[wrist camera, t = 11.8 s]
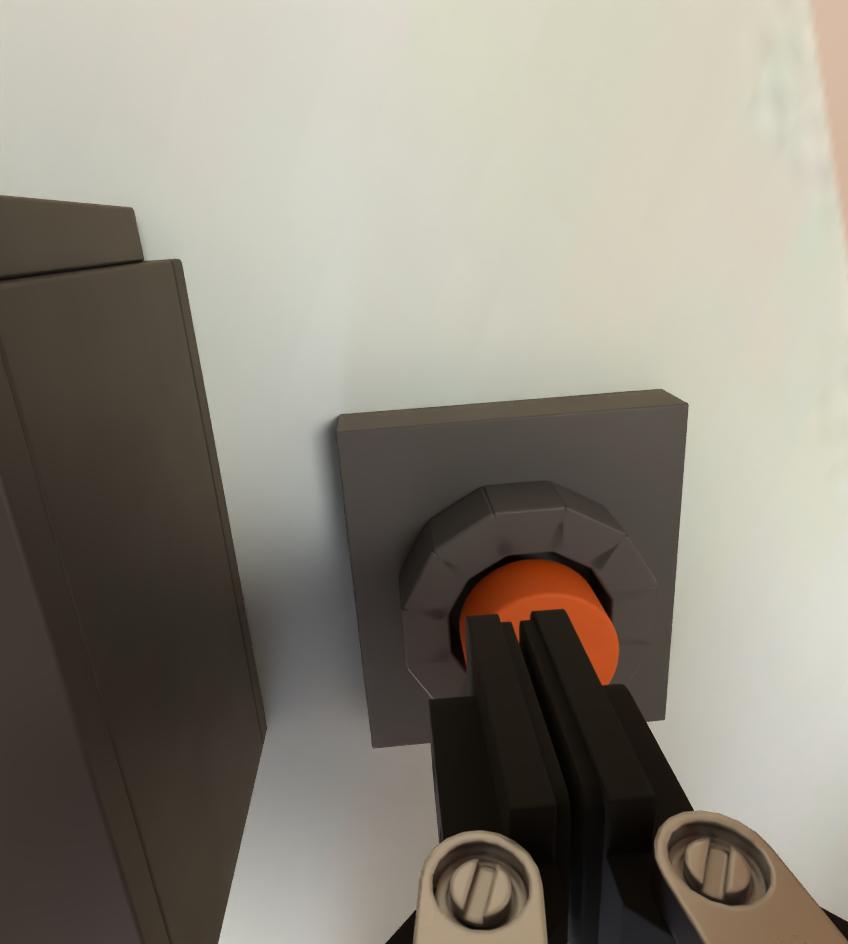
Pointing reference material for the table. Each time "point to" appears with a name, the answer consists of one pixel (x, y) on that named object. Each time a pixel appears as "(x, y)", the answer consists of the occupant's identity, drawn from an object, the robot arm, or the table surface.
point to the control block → (507, 532)
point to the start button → (546, 606)
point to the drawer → (64, 236)
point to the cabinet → (116, 620)
